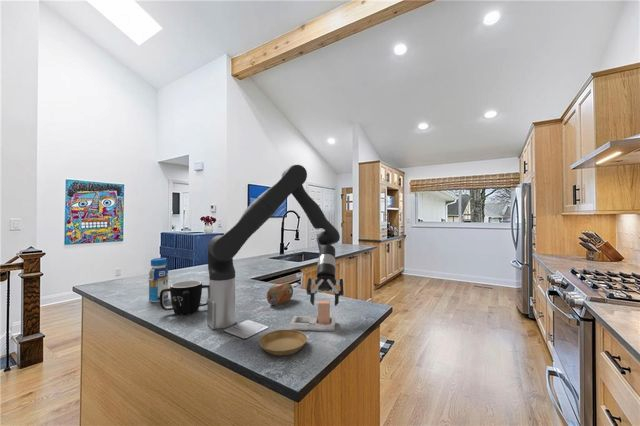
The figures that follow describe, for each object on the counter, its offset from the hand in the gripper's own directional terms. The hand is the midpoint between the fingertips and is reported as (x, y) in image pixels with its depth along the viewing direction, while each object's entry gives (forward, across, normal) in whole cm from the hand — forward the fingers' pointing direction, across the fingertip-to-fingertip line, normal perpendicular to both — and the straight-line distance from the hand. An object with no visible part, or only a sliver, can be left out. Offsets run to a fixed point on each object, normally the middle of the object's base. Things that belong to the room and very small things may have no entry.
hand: (324, 304), depth 101 cm
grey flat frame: (+6, -4, +5) cm, 9 cm away
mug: (-1, -60, +12) cm, 61 cm away
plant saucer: (+18, -11, -7) cm, 23 cm away
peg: (+6, 0, +5) cm, 8 cm away
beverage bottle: (-11, -83, +22) cm, 87 cm away
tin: (-12, -23, +23) cm, 34 cm away
